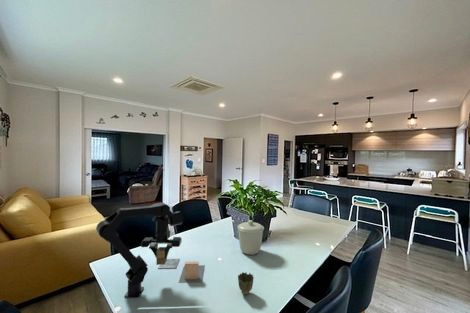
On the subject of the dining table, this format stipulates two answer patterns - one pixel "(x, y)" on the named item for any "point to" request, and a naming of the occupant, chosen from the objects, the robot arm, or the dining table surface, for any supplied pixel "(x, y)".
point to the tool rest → (169, 264)
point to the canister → (250, 237)
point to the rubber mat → (200, 279)
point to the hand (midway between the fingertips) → (161, 258)
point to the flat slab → (191, 270)
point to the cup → (245, 282)
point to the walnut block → (161, 256)
